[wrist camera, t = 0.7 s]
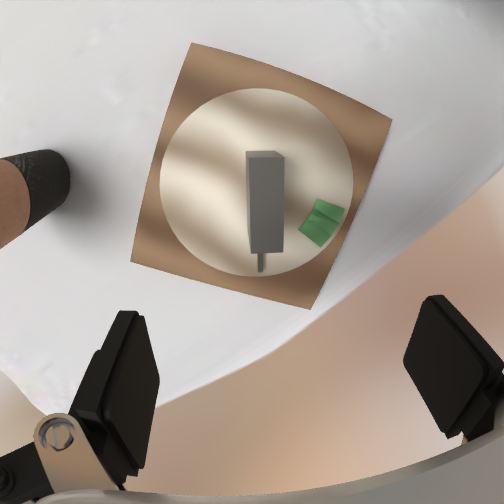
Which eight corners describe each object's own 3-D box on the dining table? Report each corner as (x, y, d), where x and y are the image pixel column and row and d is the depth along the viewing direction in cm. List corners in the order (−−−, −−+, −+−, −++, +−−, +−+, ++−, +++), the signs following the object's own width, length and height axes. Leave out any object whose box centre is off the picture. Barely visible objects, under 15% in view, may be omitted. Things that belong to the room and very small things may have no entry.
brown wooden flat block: (195, 49, 25) (190, 41, 22) (379, 118, 29) (395, 119, 25) (137, 249, 33) (128, 263, 30) (304, 295, 36) (311, 312, 33)
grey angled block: (244, 149, 26) (248, 157, 20) (272, 149, 26) (284, 157, 20) (247, 270, 30) (252, 305, 25) (272, 268, 30) (281, 303, 25)
